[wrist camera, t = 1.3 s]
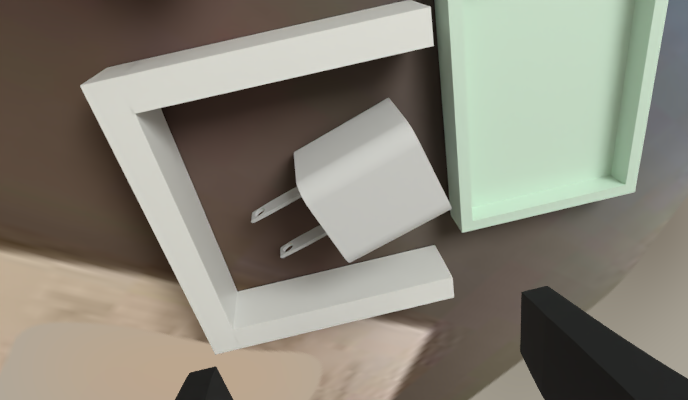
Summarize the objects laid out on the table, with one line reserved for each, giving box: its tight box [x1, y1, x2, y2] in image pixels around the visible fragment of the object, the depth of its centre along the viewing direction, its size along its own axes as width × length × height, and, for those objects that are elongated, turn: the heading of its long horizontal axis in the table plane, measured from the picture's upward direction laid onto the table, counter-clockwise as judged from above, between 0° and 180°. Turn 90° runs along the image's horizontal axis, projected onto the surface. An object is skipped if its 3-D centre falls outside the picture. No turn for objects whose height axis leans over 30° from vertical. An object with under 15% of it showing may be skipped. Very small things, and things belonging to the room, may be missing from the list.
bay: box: [80, 0, 454, 354], centre depth 18 cm, size 12×11×2 cm
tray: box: [434, 0, 668, 233], centre depth 17 cm, size 11×8×2 cm
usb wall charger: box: [251, 98, 452, 263], centre depth 17 cm, size 4×7×4 cm, turn 119°
